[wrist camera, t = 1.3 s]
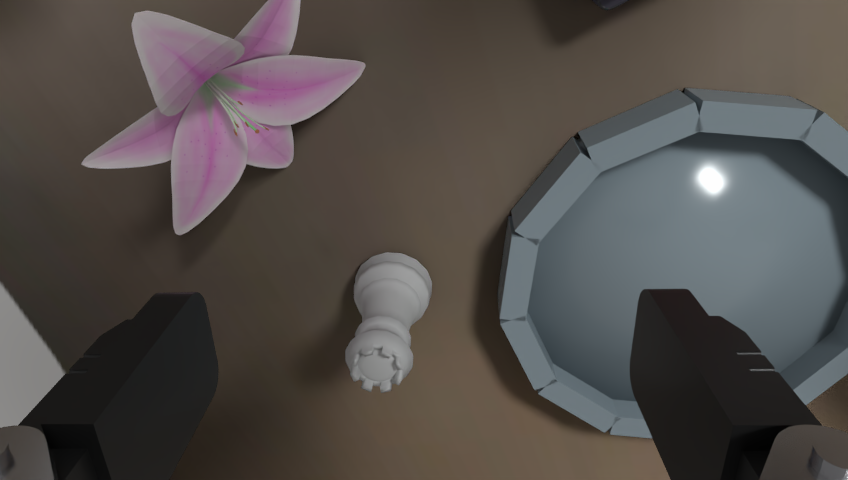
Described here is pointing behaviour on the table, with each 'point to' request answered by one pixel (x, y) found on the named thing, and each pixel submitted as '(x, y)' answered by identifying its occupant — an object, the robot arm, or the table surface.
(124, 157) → the lily
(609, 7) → the calculator
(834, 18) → the table surface
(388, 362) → the rook chess piece
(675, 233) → the round tray
